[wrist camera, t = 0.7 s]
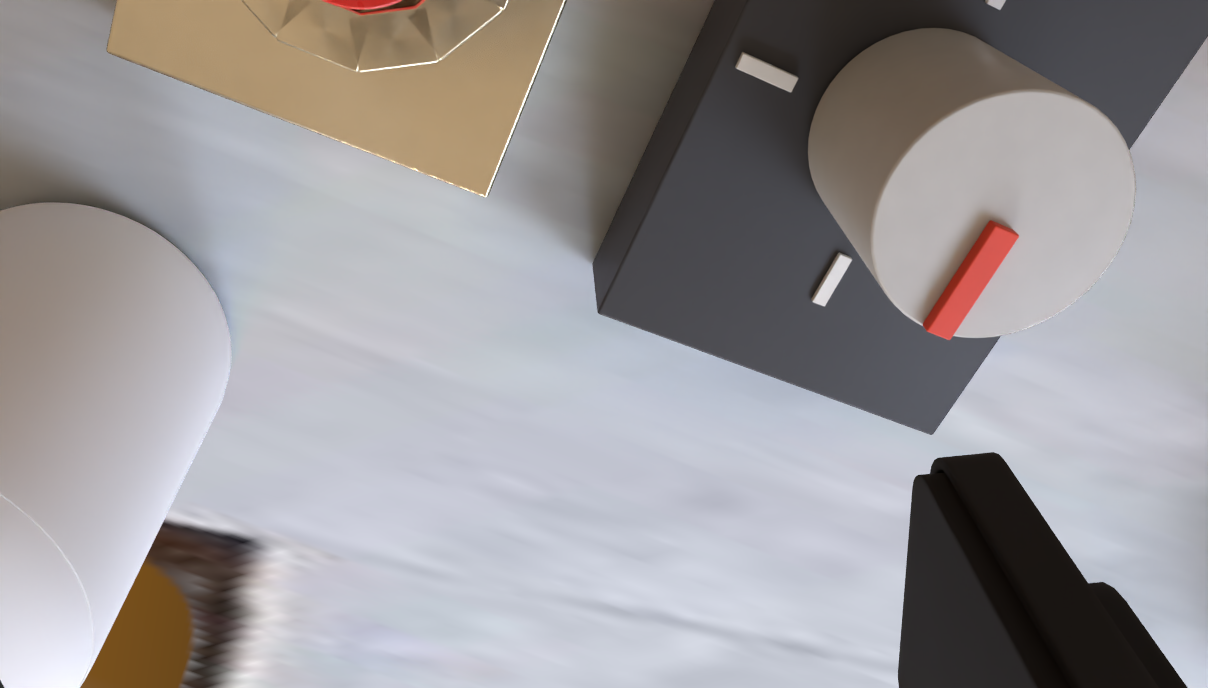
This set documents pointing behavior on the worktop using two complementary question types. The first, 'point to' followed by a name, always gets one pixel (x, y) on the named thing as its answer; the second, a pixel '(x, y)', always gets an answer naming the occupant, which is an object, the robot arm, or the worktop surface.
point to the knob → (970, 182)
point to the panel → (795, 209)
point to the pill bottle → (92, 422)
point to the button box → (360, 70)
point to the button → (362, 3)
